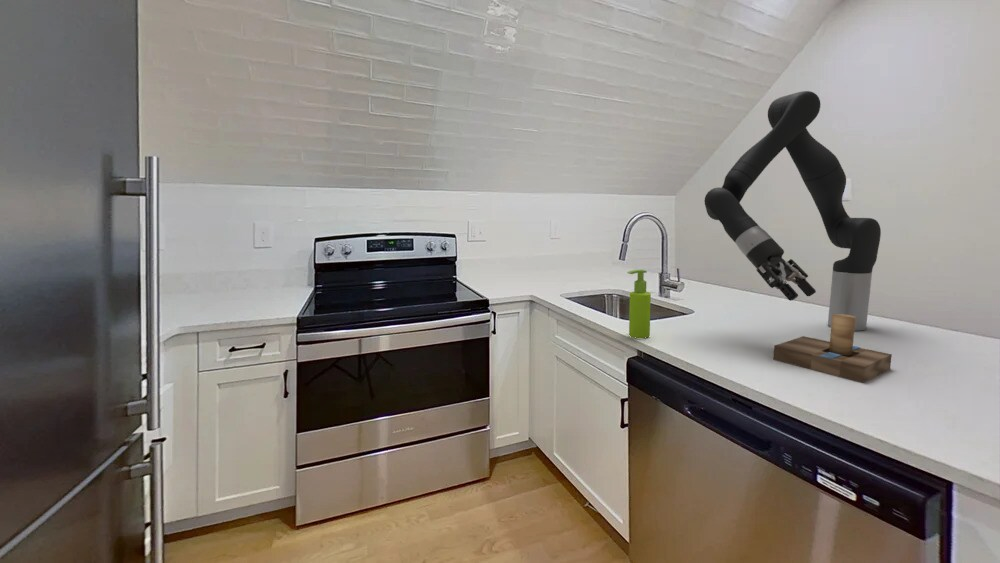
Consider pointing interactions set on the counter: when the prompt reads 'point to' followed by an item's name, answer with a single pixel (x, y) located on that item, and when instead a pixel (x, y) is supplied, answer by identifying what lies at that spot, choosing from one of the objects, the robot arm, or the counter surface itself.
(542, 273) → the counter surface
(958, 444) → the counter surface
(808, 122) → the robot arm
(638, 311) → the soap dispenser
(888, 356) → the board
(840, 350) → the upright wooden block
